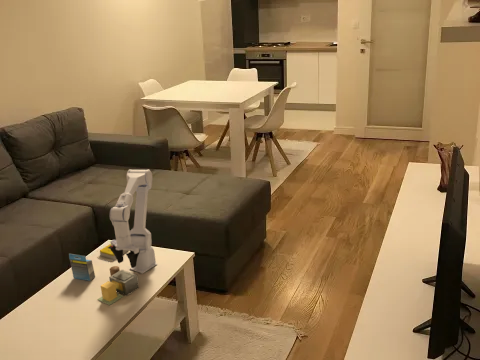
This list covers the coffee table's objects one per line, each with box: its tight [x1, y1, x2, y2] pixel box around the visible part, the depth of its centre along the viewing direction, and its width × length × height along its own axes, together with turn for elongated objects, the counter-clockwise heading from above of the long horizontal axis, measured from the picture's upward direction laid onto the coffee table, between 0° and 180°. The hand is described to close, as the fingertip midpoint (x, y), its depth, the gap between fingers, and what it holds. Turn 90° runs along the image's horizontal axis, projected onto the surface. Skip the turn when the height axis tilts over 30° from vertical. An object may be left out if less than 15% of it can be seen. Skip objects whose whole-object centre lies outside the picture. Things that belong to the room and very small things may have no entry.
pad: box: [97, 292, 124, 306], centre depth 208 cm, size 7×7×1 cm
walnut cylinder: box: [109, 265, 121, 276], centre depth 219 cm, size 4×4×6 cm
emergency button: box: [96, 243, 130, 263], centre depth 243 cm, size 9×4×15 cm
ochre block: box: [100, 280, 118, 302], centre depth 207 cm, size 4×4×6 cm
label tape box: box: [68, 253, 96, 282], centre depth 222 cm, size 9×4×12 cm, turn 70°
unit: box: [109, 269, 140, 297], centre depth 213 cm, size 7×9×6 cm
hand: (127, 264), depth 213 cm, fingers open, 7 cm apart
